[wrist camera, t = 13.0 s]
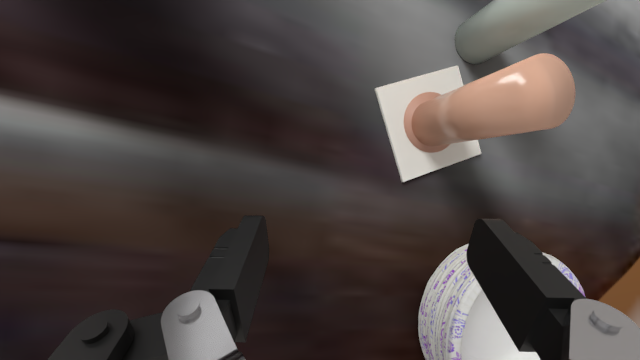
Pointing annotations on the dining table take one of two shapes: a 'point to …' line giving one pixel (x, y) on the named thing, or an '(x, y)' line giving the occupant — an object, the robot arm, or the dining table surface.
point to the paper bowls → (466, 315)
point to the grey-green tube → (512, 25)
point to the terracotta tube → (499, 104)
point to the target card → (397, 117)
